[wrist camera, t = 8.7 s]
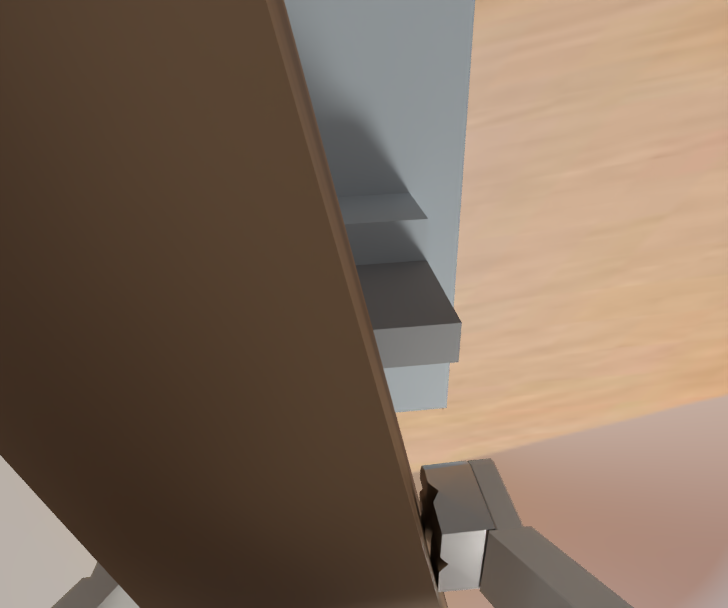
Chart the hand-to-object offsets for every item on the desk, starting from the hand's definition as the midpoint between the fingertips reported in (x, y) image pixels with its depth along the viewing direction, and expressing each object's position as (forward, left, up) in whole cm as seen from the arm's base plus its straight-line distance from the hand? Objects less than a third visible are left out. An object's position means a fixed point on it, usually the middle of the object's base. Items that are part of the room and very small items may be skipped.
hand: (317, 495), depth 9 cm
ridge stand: (0, 0, -16) cm, 16 cm away
